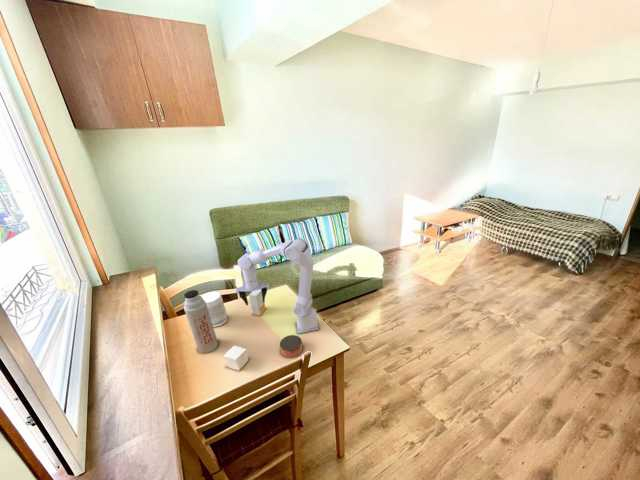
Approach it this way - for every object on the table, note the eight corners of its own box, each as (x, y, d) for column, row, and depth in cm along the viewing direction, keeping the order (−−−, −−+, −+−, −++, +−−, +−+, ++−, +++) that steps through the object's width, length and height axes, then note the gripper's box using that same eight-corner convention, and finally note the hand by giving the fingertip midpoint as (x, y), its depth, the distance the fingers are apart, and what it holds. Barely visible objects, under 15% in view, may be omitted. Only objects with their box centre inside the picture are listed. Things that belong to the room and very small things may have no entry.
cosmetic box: (260, 315, 141) (256, 296, 135) (252, 314, 142) (248, 295, 136) (265, 308, 146) (262, 289, 140) (258, 307, 147) (254, 288, 141)
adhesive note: (238, 370, 110) (235, 359, 107) (226, 366, 112) (223, 355, 109) (248, 359, 115) (246, 348, 112) (236, 355, 117) (234, 345, 114)
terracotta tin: (300, 340, 125) (300, 333, 123) (304, 354, 117) (303, 347, 115) (280, 344, 123) (279, 337, 121) (281, 359, 115) (280, 352, 113)
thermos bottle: (218, 348, 121) (202, 295, 108) (198, 355, 117) (179, 301, 104) (217, 337, 127) (201, 285, 114) (197, 343, 124) (179, 290, 111)
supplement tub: (231, 316, 140) (225, 292, 133) (220, 328, 132) (213, 303, 125) (214, 314, 142) (207, 290, 135) (202, 326, 134) (194, 301, 127)
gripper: (266, 271, 132) (270, 295, 138) (234, 276, 128) (239, 300, 134) (267, 279, 126) (271, 303, 132) (233, 284, 122) (239, 309, 128)
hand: (255, 302), depth 133 cm, fingers open, 7 cm apart
